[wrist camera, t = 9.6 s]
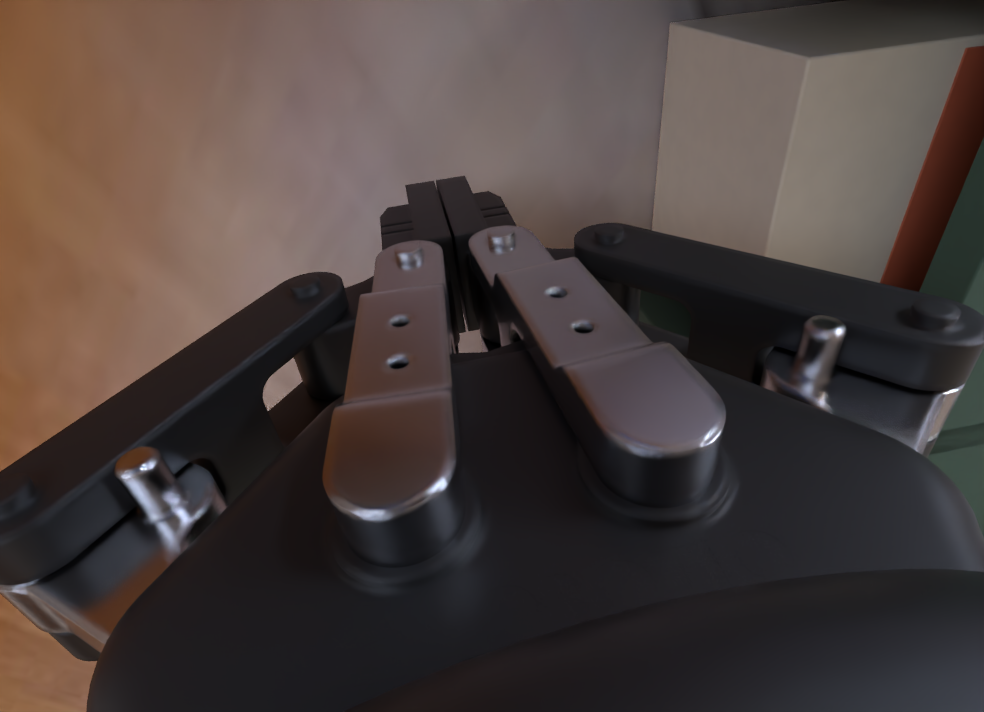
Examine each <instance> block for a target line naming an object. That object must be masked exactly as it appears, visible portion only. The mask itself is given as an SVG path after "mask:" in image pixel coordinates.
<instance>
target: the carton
mask: <svg viewBox="0 0 984 712" xmlns="http://www.w3.org/2000/svg"><path fill="white" fill-rule="evenodd" d="M983 137H984V0H845V1H837V2H829V3H821V4H813V5H805V6H797V7H789V8H781V9H773V10H765V11H757V12H749V13H741V14H733V15H725V16H717V17H709V18H701V19H693V20H685V21H677V22H672V23H670V28H669V39H668V50H667V62H666V73H665V84H664V96H663V107H662V118H661V129H660V141H659V152H658V163H657V175H656V186H655V197H654V209H653V220H652V231H656V232H660V233H665V234H669V235H673V236H678V237H682V238H687V239H691V240H695V241H700V242H704V243H708V244H713V245H717V246H721V247H726V248H730V249H734V250H739V251H743V252H747V253H752V254H756V255H760V256H765V257H769V258H773V259H778V260H782V261H786V262H791V263H795V264H800V265H804V266H808V267H813V268H817V269H821V270H826V271H830V272H834V273H839V274H843V275H847V276H852V277H856V278H860V279H865V280H869V281H873V282H878V283H882V284H886V285H891V286H895V287H900V288H904V289H908V290H913V291H917V292H919V291H920V288H921V286H922V283H923V281H924V279H925V276H926V274H927V272H928V269H929V267H930V264H931V262H932V260H933V257H934V255H935V252H936V250H937V248H938V245H939V243H940V240H941V238H942V236H943V233H944V231H945V228H946V226H947V224H948V221H949V219H950V216H951V214H952V212H953V209H954V207H955V204H956V202H957V200H958V197H959V195H960V192H961V190H962V188H963V185H964V183H965V180H966V178H967V176H968V173H969V171H970V168H971V166H972V164H973V161H974V159H975V156H976V154H977V152H978V149H979V147H980V145H981V142H982V140H983Z"/></svg>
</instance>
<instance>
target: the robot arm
mask: <svg viewBox="0 0 984 712" xmlns="http://www.w3.org/2000/svg"><path fill="white" fill-rule="evenodd" d="M436 185H437V189H436V186H435V183H434V181H429V182H422V183H416V184H410V185H405V186H406V192H407V197H408V202H409V204H408V205H401V206H395V207H389V208H387V209H386V211H385V212H384V213H383V214H382V215H381V217H380V223H381V237H382V251H381V252H380V253H379V254H378V256H377V257H376V261H375V270H374V276H372V277H371V278H369V279H367V280H365V281H363V282H361V283H358V284H355V285H353V286H350V287H347V288H344V285H343V282H342V279H341V278H340V277H339V276H338V275H336V274H333V273H328V272H313V273H307V274H302V275H299V276H296V277H293V278H291V279H288V280H286V281H284V282H283V283H281V284H279V285H278V286H276V287H275V288H274V289H272V290H271V291H269V292H268V293H266V294H265V295H263V296H262V297H260V298H259V299H257V300H256V301H254V302H253V303H251V304H250V305H248V306H247V307H245V308H244V309H242V310H241V311H239V312H238V313H236V314H235V315H233V316H232V317H230V318H229V319H227V320H226V321H224V322H223V323H221V324H220V325H218V326H217V327H215V328H214V329H212V330H211V331H209V332H208V333H206V334H205V335H203V336H202V337H200V338H199V339H197V340H196V341H194V342H193V343H191V344H190V345H189V346H187V347H186V348H184V349H183V350H181V351H180V352H178V353H177V354H175V355H174V356H172V357H171V358H169V359H168V360H166V361H165V362H163V363H162V364H160V365H159V366H157V367H156V368H154V369H153V370H151V371H150V372H148V373H147V374H145V375H144V376H142V377H141V378H139V379H138V380H136V381H135V382H133V383H132V384H130V385H129V386H127V387H126V388H124V389H123V390H121V391H120V392H118V393H117V394H115V395H114V396H112V397H111V398H109V399H108V400H106V401H105V402H104V403H102V404H101V405H99V406H98V407H96V408H95V409H93V410H92V411H90V412H89V413H87V414H86V415H84V416H83V417H81V418H80V419H78V420H77V421H75V422H74V423H72V424H71V425H69V426H68V427H66V428H65V429H63V430H62V431H60V432H59V433H57V434H56V435H54V436H53V437H51V438H50V439H48V440H47V441H45V442H44V443H42V444H41V445H39V446H38V447H36V448H35V449H33V450H32V451H30V452H29V453H27V454H26V455H24V456H23V457H21V458H20V459H18V460H17V461H16V462H14V463H13V464H11V465H10V466H8V467H7V468H5V469H4V470H2V471H1V472H0V594H1V595H2V596H3V597H4V598H5V599H7V600H8V601H9V602H10V603H11V604H12V605H13V606H14V607H15V608H16V609H18V610H19V611H20V612H21V613H22V614H23V615H24V616H25V617H26V618H27V619H28V620H30V621H31V622H32V623H33V624H34V625H35V626H36V627H37V628H39V629H40V630H42V631H45V632H48V633H49V634H50V635H51V636H53V637H54V638H55V639H56V640H57V641H58V642H59V643H60V644H61V645H62V646H63V647H65V648H66V649H67V650H68V651H69V652H70V653H71V654H72V655H73V656H75V657H76V658H78V659H80V660H84V661H97V664H96V667H95V670H94V673H93V676H92V679H91V683H90V688H89V694H88V700H87V712H984V537H983V535H982V532H981V529H980V527H979V524H978V521H977V519H976V516H975V513H974V511H973V509H972V508H971V506H970V504H969V503H968V501H967V500H966V498H965V496H964V495H963V493H962V492H961V491H960V490H959V489H958V487H957V486H956V485H955V484H954V482H953V481H952V480H951V479H950V478H949V477H948V476H947V475H946V474H945V473H944V472H943V471H942V470H941V469H940V468H939V467H938V466H936V465H935V464H934V463H932V462H931V461H930V460H929V459H927V458H928V456H929V454H930V452H931V450H932V448H933V446H934V444H935V442H936V440H937V438H938V436H939V434H940V432H941V430H942V428H943V427H944V425H945V423H946V421H947V419H948V417H949V415H950V413H951V411H952V409H953V407H954V405H955V403H956V401H957V399H958V397H959V395H960V393H961V391H962V389H963V387H964V385H965V383H966V381H967V380H968V378H969V376H970V374H971V372H972V370H973V368H974V366H975V364H976V362H977V360H978V358H979V356H980V354H981V352H982V350H983V348H984V316H983V315H982V314H981V313H979V312H978V311H976V310H974V309H973V308H971V307H969V306H967V305H964V304H962V303H959V302H957V301H954V300H950V299H947V298H943V297H939V296H934V295H930V294H926V293H921V292H917V291H913V290H908V289H904V288H900V287H895V286H891V285H886V284H882V283H878V282H873V281H869V280H865V279H860V278H856V277H852V276H847V275H843V274H839V273H834V272H830V271H826V270H821V269H817V268H813V267H808V266H804V265H800V264H795V263H791V262H786V261H782V260H778V259H773V258H769V257H765V256H760V255H756V254H752V253H747V252H743V251H739V250H734V249H730V248H726V247H721V246H717V245H713V244H708V243H704V242H700V241H695V240H691V239H687V238H682V237H678V236H673V235H669V234H665V233H660V232H656V231H652V230H647V229H643V228H639V227H634V226H630V225H625V224H619V223H602V224H596V225H591V226H588V227H586V228H583V229H581V230H580V231H578V232H577V233H576V235H575V237H574V248H573V249H552V248H545V247H544V246H543V245H542V243H541V242H540V241H539V240H538V239H537V237H536V236H535V235H534V234H533V233H532V232H531V231H530V230H528V229H526V228H524V227H520V226H516V224H515V222H514V220H513V218H512V217H511V215H510V214H509V211H508V209H507V208H506V207H505V204H504V202H503V201H502V199H501V197H499V196H497V195H495V194H493V193H491V192H489V191H487V192H481V193H474V194H473V193H472V191H471V188H470V186H469V184H468V182H467V180H466V177H465V176H459V177H453V178H447V179H441V180H436ZM641 290H643V291H646V292H649V293H653V294H656V295H659V296H663V297H666V298H669V299H673V300H676V301H678V302H680V303H681V304H683V305H684V306H685V307H686V308H687V310H688V311H689V313H690V316H691V328H690V335H689V338H688V337H685V336H682V335H679V334H676V333H673V332H670V331H667V330H664V329H661V328H658V327H655V326H652V325H649V324H646V323H643V322H640V321H639V308H640V293H641ZM462 309H463V310H462ZM463 313H464V317H465V320H466V324H467V327H468V331H473V330H479V329H480V334H481V342H482V349H483V352H481V353H459V348H458V343H459V340H460V336H459V333H463V332H466V330H465V324H464V317H463ZM293 357H294V359H295V362H296V364H297V367H298V370H299V372H300V375H301V378H302V380H303V382H302V383H300V384H299V385H298V386H297V387H296V388H295V389H294V390H292V391H291V392H290V393H289V394H288V395H287V396H286V397H284V398H283V399H282V400H281V401H280V402H279V403H277V404H276V405H275V406H274V407H273V408H272V409H271V410H269V411H267V409H266V407H265V404H264V402H263V389H264V386H265V383H266V381H267V380H268V378H269V377H270V376H271V375H272V374H273V373H275V372H276V371H277V370H278V369H279V368H281V367H282V366H283V365H284V364H286V363H287V362H288V361H289V360H291V359H292V358H293Z"/></svg>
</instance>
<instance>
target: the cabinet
mask: <svg viewBox="0 0 984 712" xmlns="http://www.w3.org/2000/svg"><path fill="white" fill-rule="evenodd" d="M919 292H921V293H926V294H930V295H934V296H939V297H943V298H947V299H950V300H954V301H957V302H959V303H962V304H964V305H967V306H969V307H971V308H973V309H974V310H976V311H978V312H979V313H981V314H982V315H983V316H984V137H983V140H982V142H981V145H980V147H979V149H978V152H977V154H976V156H975V159H974V161H973V164H972V166H971V168H970V171H969V173H968V176H967V178H966V180H965V183H964V185H963V188H962V190H961V192H960V195H959V197H958V200H957V202H956V204H955V207H954V209H953V212H952V214H951V216H950V219H949V221H948V224H947V226H946V228H945V231H944V233H943V236H942V238H941V240H940V243H939V245H938V248H937V250H936V252H935V255H934V257H933V260H932V262H931V264H930V267H929V269H928V272H927V274H926V276H925V279H924V281H923V283H922V286H921V288H920V291H919ZM639 321H640V322H643V323H646V324H649V325H652V326H655V327H658V328H661V329H664V330H667V331H670V332H673V333H676V334H679V335H682V336H685V337H688V338H689V335H690V328H691V316H690V313H689V311H688V310H687V308H686V307H685V306H684V305H683V304H681V303H680V302H678V301H676V300H673V299H669V298H666V297H663V296H659V295H656V294H653V293H649V292H646V291H643V290H641V293H640V308H639ZM927 459H929V460H930V461H931V462H932V463H934V464H935V465H936V466H938V467H939V468H940V469H941V470H942V471H943V472H944V473H945V474H946V475H947V476H948V477H949V478H950V479H951V480H952V481H953V482H954V484H955V485H956V486H957V487H958V489H959V490H960V491H961V492H962V493H963V495H964V496H965V498H966V500H967V501H968V503H969V504H970V506H971V508H972V509H973V511H974V513H975V516H976V519H977V521H978V524H979V527H980V529H981V532H982V535H983V537H984V348H983V350H982V352H981V354H980V356H979V358H978V360H977V362H976V364H975V366H974V368H973V370H972V372H971V374H970V376H969V378H968V380H967V381H966V383H965V385H964V387H963V389H962V391H961V393H960V395H959V397H958V399H957V401H956V403H955V405H954V407H953V409H952V411H951V413H950V415H949V417H948V419H947V421H946V423H945V425H944V427H943V428H942V430H941V432H940V434H939V436H938V438H937V440H936V442H935V444H934V446H933V448H932V450H931V452H930V454H929V456H928V458H927Z"/></svg>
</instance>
